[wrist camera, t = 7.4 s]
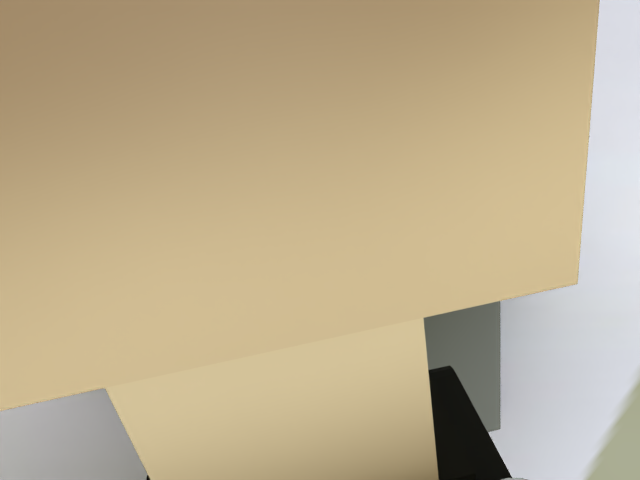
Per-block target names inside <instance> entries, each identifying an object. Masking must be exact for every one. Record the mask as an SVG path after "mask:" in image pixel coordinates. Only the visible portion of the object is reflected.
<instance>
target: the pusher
mask: <svg viewBox="0 0 640 480" xmlns="http://www.w3.org/2000/svg"><path fill="white" fill-rule="evenodd" d="M599 1H600V0H0V411H2V410H7V409H11V408H16V407H20V406H25V405H30V404H34V403H39V402H43V401H48V400H52V399H57V398H61V397H66V396H70V395H75V394H80V393H84V392H89V391H93V390H98V389H102V388H105V389H106V391H107V393H108V395H109V397H110V399H111V402H112V404H113V406H114V408H115V410H116V412H117V414H118V416H119V418H120V420H121V422H122V424H123V426H124V428H125V430H126V432H127V434H128V436H129V438H130V440H131V442H132V444H133V446H134V448H135V450H136V452H137V454H138V456H139V458H140V460H141V462H142V464H143V466H144V468H145V470H146V472H147V474H148V476H149V478H150V480H439V478H438V467H437V457H436V446H435V436H434V425H433V414H432V404H431V393H430V383H429V372H428V361H427V351H426V340H425V330H424V319H423V318H425V317H429V316H434V315H438V314H443V313H447V312H452V311H457V310H461V309H466V308H470V307H475V306H479V305H484V304H488V303H493V302H497V301H502V300H506V299H511V298H516V297H520V296H525V295H529V294H534V293H538V292H543V291H547V290H552V289H556V288H561V287H566V286H570V285H575V284H577V282H578V269H579V257H580V244H581V231H582V218H583V206H584V193H585V180H586V167H587V154H588V142H589V129H590V116H591V103H592V90H593V78H594V65H595V52H596V39H597V27H598V14H599Z"/></svg>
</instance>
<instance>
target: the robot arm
mask: <svg viewBox="0 0 640 480" xmlns="http://www.w3.org/2000/svg"><path fill="white" fill-rule="evenodd" d="M428 372H429V383H430V393H431V404H432V414H433V425H434V436H435V446H436V457H437V467H438V478H439V480H527V479H523V478H512V477H511V475H510V473H509V471H508V469H507V468H506V466H505V464H504V462H503V460H502V458H501V456H500V454H499V453H498V451H497V449H496V447H495V445H494V443H493V441H492V439H491V438H490V436H489V434H488V432H487V430H486V428H485V426H484V425H483V423H482V421H481V419H480V417H479V415H478V413H477V411H476V410H475V408H474V406H473V404H472V402H471V400H470V398H469V396H468V395H467V393H466V391H465V389H464V387H463V385H462V383H461V382H460V380H459V378H458V376H457V374H456V372H455V371H454V369H453V368H452V367H451V366H450V365H449V366H445V367H440V368H436V369H431V370H428ZM147 480H150V478H149V476H148V475H147Z"/></svg>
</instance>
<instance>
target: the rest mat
mask: <svg viewBox="0 0 640 480" xmlns="http://www.w3.org/2000/svg"><path fill="white" fill-rule="evenodd" d="M423 319H424V330H425V340H426V351H427V361H428V370H431V369H436V368H440V367H445V366H449V365H450V366H451V367H452V368H453V369H454V371H455V372H456V374H457V376H458V378H459V380H460V382H461V383H462V385H463V387H464V389H465V391H466V393H467V395H468V396H469V398H470V400H471V402H472V404H473V406H474V408H475V410H476V411H477V413H478V415H479V417H480V419H481V421H482V423H483V425H484V426H485V428H486V430H487V432H490V431H494V430H498V429H500V301H497V302H493V303H488V304H484V305H479V306H475V307H470V308H466V309H461V310H457V311H452V312H447V313H443V314H438V315H434V316H429V317H425V318H423Z"/></svg>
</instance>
